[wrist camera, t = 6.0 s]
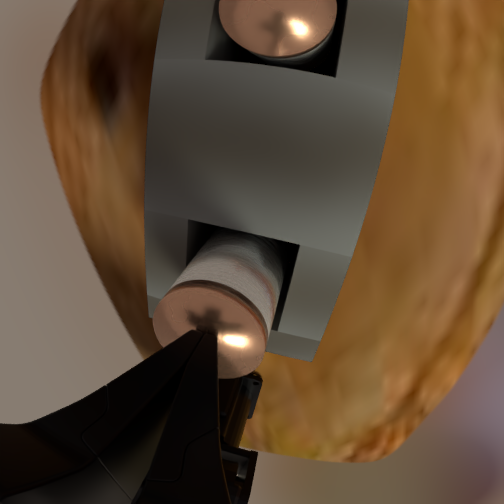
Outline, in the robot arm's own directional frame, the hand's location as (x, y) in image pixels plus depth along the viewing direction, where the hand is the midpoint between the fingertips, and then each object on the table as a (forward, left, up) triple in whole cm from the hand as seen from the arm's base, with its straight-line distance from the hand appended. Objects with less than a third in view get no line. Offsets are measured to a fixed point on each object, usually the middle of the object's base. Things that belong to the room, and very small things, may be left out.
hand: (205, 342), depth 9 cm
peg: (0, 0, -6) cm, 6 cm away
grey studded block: (+5, 0, -10) cm, 11 cm away
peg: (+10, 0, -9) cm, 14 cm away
